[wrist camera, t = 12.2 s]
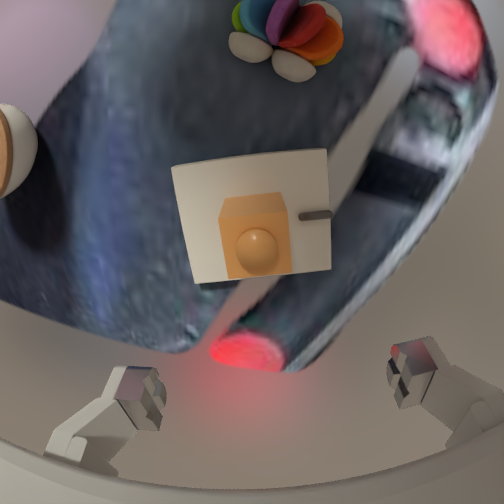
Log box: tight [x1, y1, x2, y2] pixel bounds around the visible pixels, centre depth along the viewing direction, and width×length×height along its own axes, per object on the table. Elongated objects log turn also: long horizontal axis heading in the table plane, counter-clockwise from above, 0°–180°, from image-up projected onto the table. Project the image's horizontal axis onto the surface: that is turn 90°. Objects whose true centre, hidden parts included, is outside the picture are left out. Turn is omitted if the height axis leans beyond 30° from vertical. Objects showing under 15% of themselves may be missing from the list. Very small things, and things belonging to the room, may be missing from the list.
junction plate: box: [171, 148, 332, 284], centre depth 27 cm, size 12×14×6 cm
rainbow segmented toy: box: [229, 0, 344, 82], centre depth 19 cm, size 8×10×7 cm
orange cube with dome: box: [218, 192, 292, 279], centre depth 25 cm, size 5×5×7 cm
